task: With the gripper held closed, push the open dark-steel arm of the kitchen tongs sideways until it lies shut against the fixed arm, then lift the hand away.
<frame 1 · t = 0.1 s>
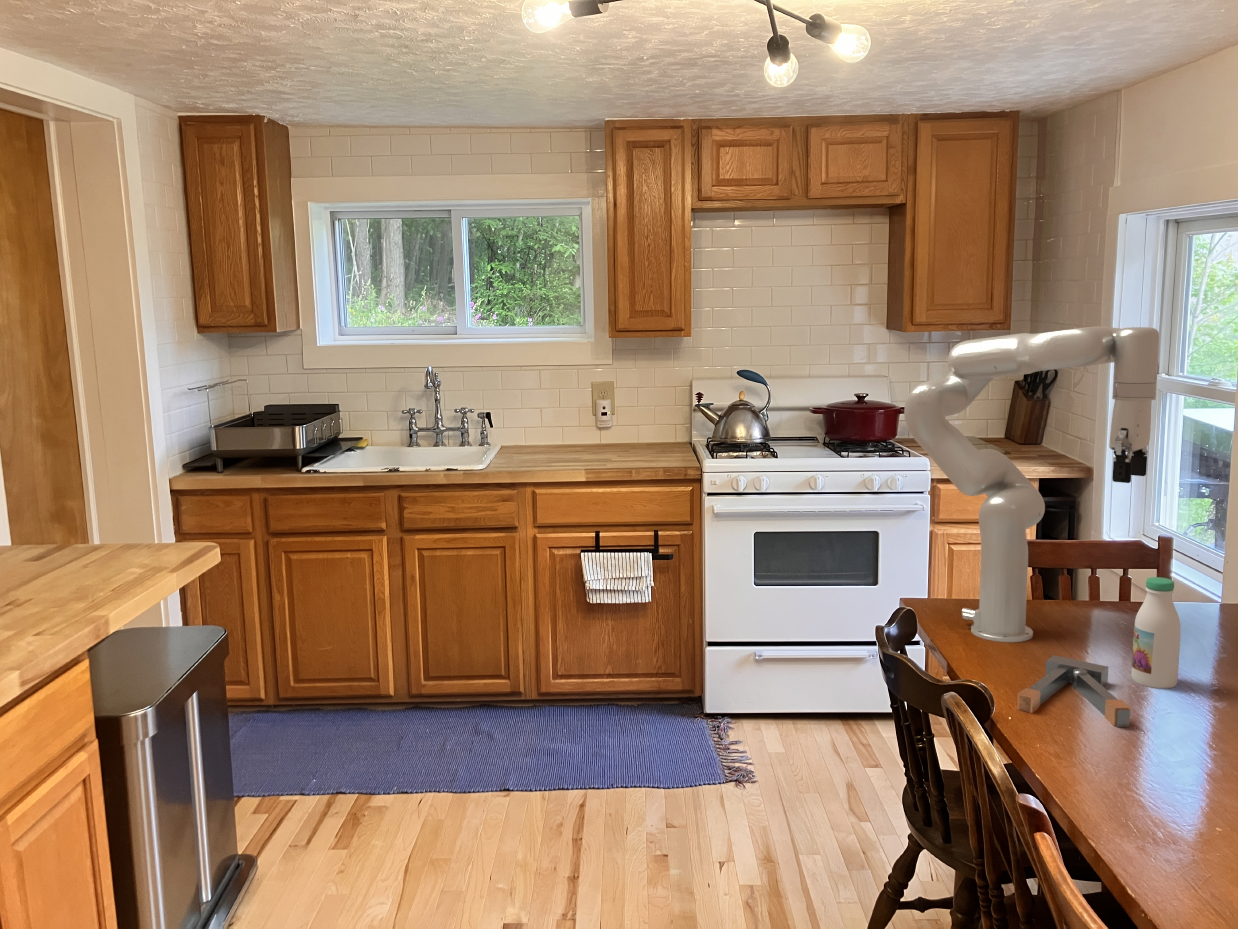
hand: (1129, 478, 197), 37 cm above the table, tool pointing down, fingers open, 9 cm apart
milk bottle: (1153, 683, 189), on the table
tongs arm: (1099, 696, 178), point 2 cm above the table, hinge at 40.0°
tongs base: (1060, 684, 189), on the table
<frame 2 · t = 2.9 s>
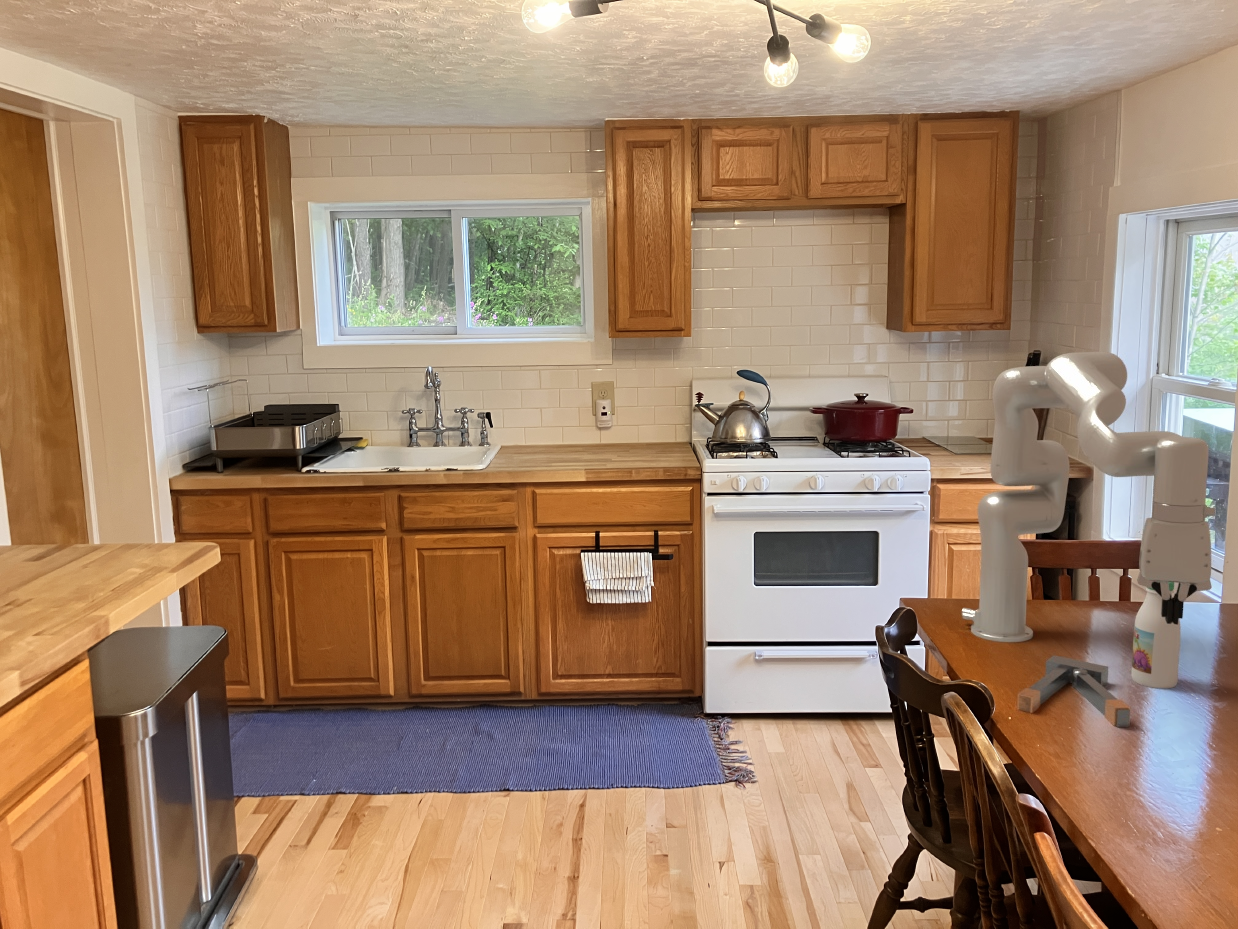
hand: (1171, 621, 166), 19 cm above the table, tool pointing down, fingers closed
nothing on the table moved.
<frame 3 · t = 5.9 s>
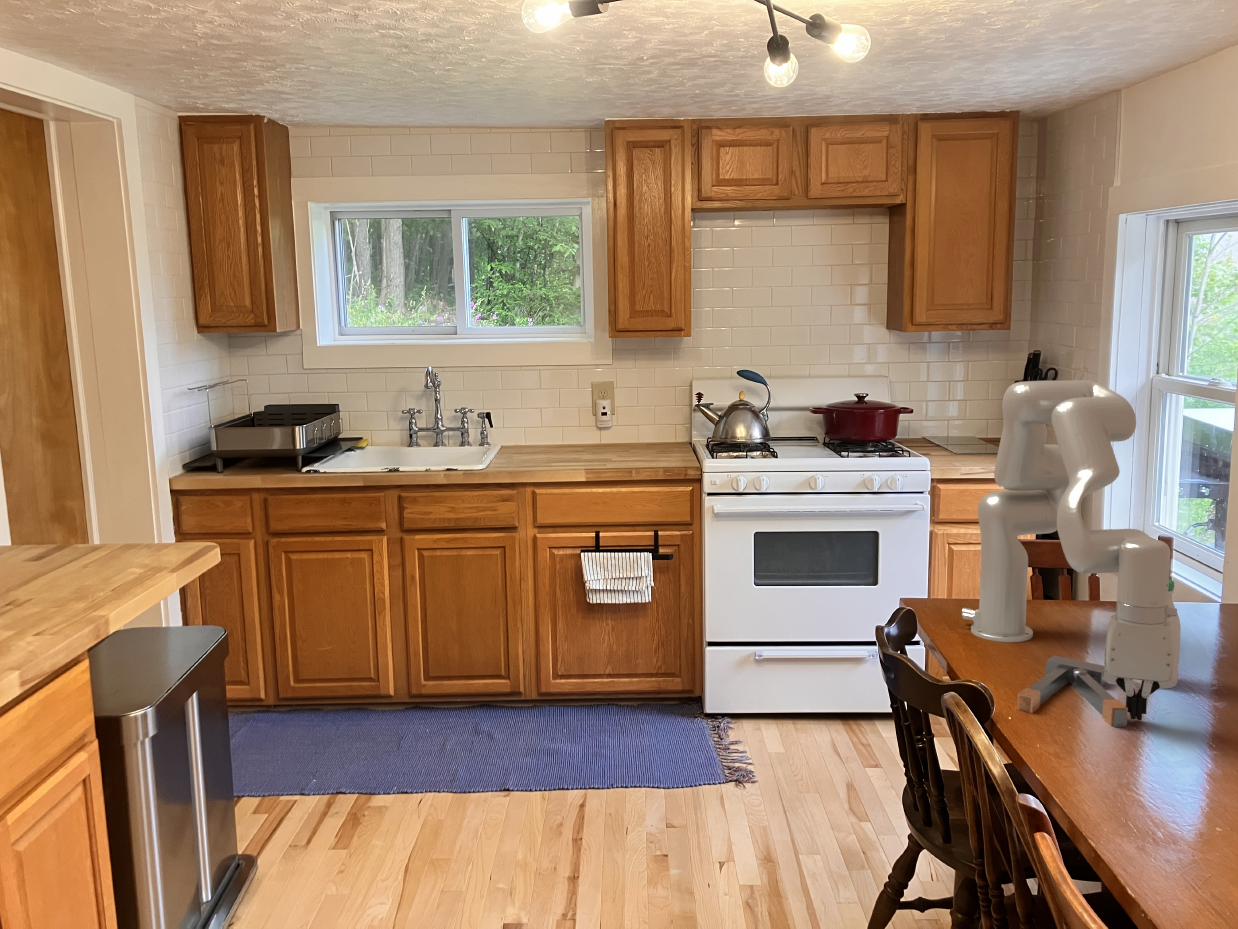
hand: (1135, 716, 170), 1 cm above the table, tool pointing down, fingers closed
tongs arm: (1097, 696, 178), point 2 cm above the table, hinge at 38.4°, touching gripper
everything else where it was.
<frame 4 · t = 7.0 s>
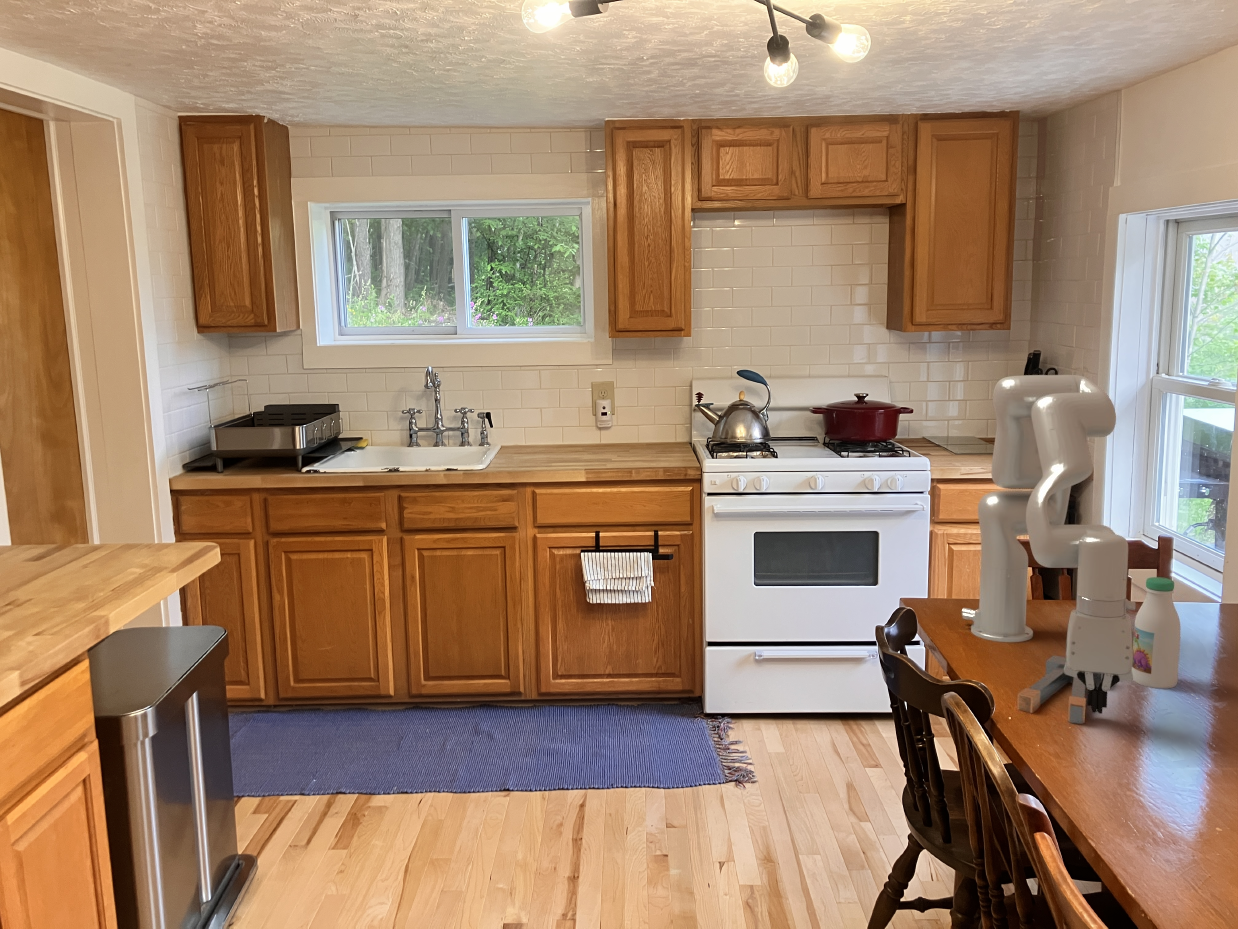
hand: (1096, 710, 172), 2 cm above the table, tool pointing down, fingers closed
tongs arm: (1078, 694, 179), point 2 cm above the table, hinge at 16.4°, touching gripper
everything else where it was.
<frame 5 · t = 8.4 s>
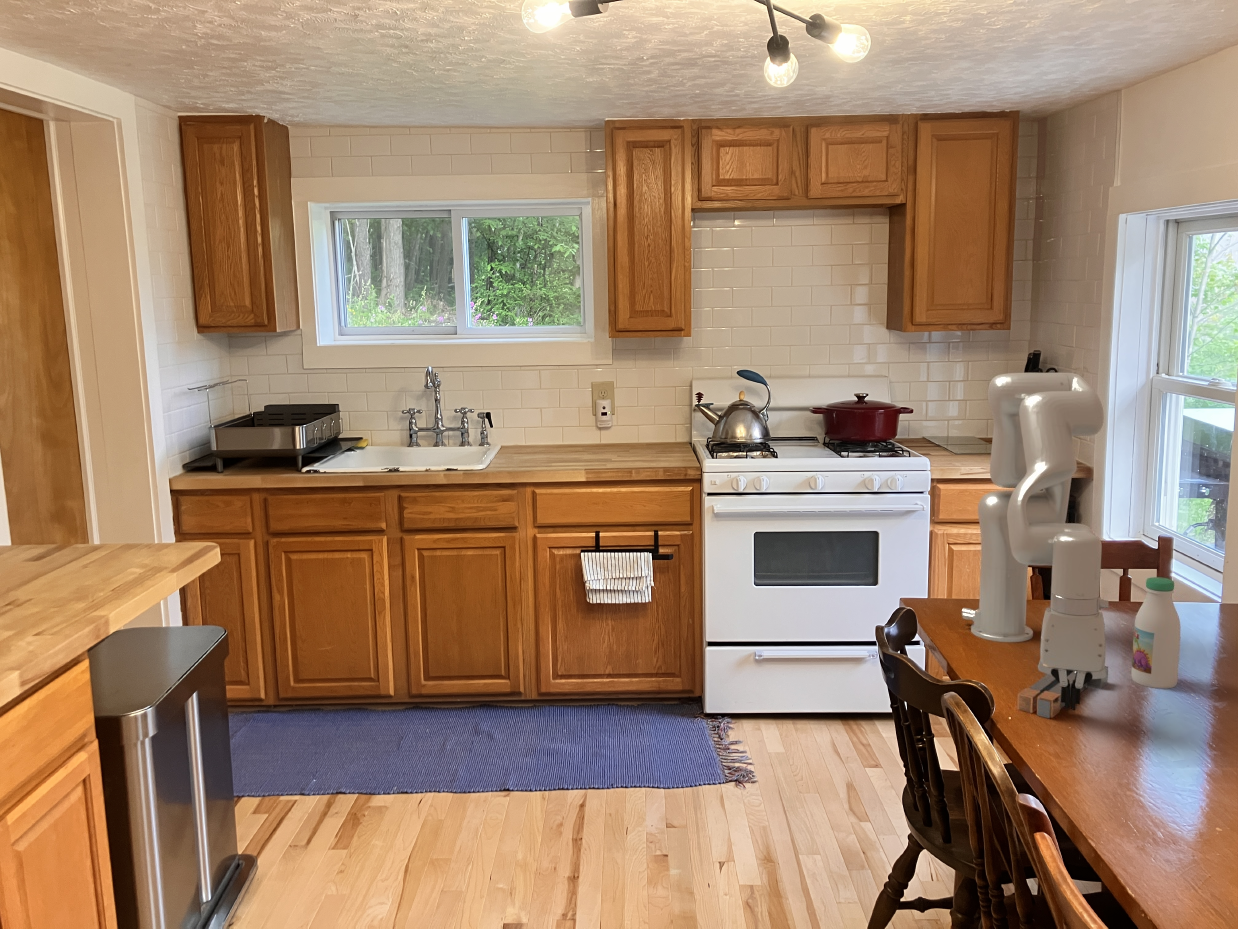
hand: (1069, 706, 174), 2 cm above the table, tool pointing down, fingers closed
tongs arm: (1063, 692, 180), point 2 cm above the table, hinge at -0.2°, touching gripper
everything else where it was.
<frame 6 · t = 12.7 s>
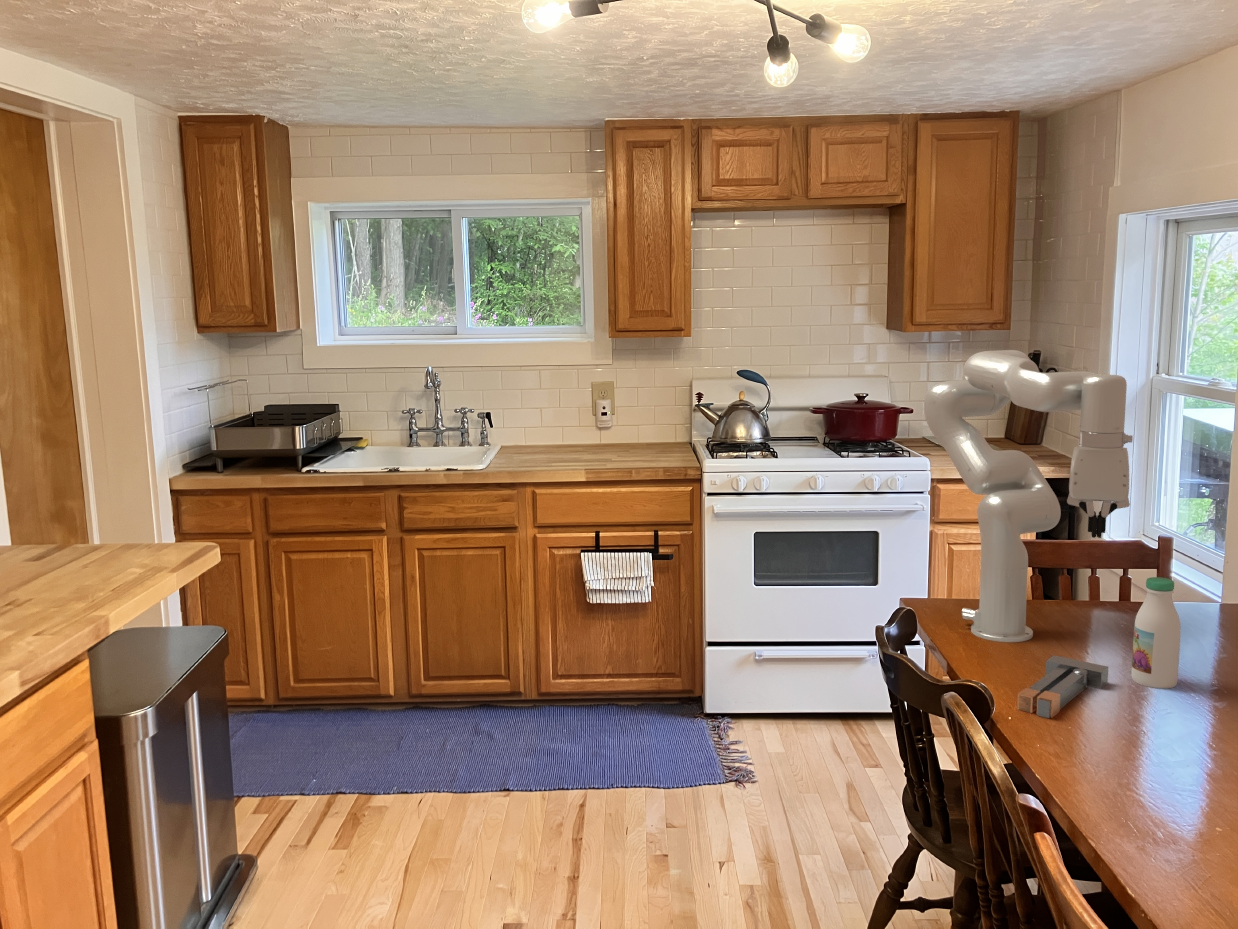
hand: (1096, 536, 191), 27 cm above the table, tool pointing down, fingers closed
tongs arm: (1063, 692, 180), point 2 cm above the table, hinge at -0.4°
everything else where it was.
at the end: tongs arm at +0° (first picture: +40°); milk bottle moved 0.2 cm from its start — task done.
